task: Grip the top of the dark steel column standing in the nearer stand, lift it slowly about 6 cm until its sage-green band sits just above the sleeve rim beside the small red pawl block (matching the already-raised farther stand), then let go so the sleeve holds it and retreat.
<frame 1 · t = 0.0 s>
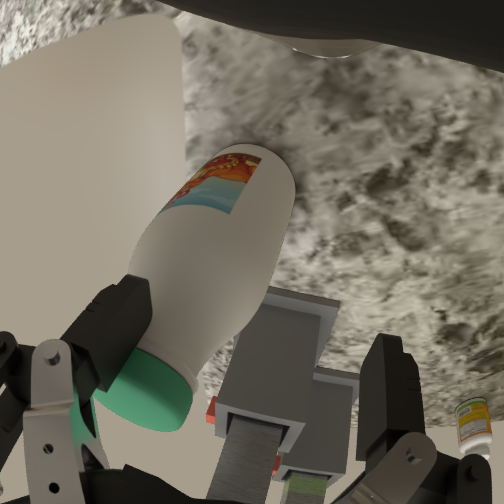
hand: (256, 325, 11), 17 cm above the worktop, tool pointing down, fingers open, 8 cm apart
supplement bottle: (470, 405, 37), on the worktop
stand 1: (282, 325, 35), on the worktop
milk bottle: (250, 184, 27), on the worktop, touching gripper
stand 2: (320, 389, 40), on the worktop
column 1: (258, 422, 25), point 12 cm above the worktop, slide at 0.0 cm
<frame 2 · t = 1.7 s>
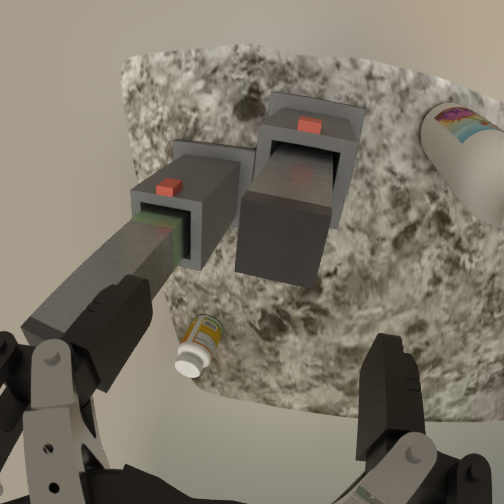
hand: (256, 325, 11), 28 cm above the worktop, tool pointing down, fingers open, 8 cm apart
column 2: (137, 261, 24), point 18 cm above the worktop, slide at 6.0 cm
supplement bottle: (208, 325, 53), on the worktop
stand 1: (311, 142, 34), on the worktop
milk bottle: (449, 134, 29), on the worktop
stand 2: (213, 182, 39), on the worktop
column 1: (302, 174, 24), point 12 cm above the worktop, slide at 0.0 cm
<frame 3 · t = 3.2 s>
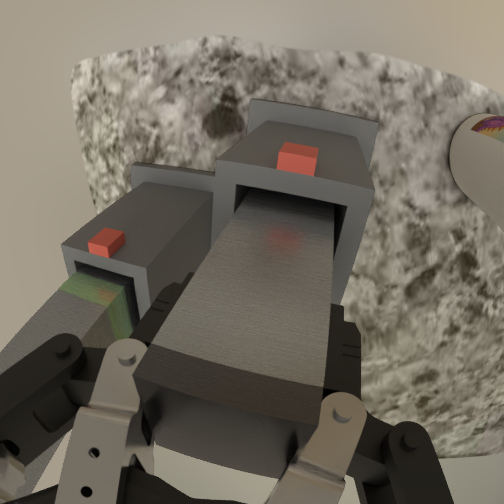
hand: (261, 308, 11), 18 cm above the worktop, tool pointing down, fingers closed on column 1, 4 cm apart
column 2: (66, 348, 16), point 18 cm above the worktop, slide at 6.0 cm
stand 1: (305, 166, 26), on the worktop
milk bottle: (484, 156, 21), on the worktop
stand 2: (181, 215, 31), on the worktop
column 1: (285, 233, 16), point 12 cm above the worktop, slide at 0.0 cm, touching gripper
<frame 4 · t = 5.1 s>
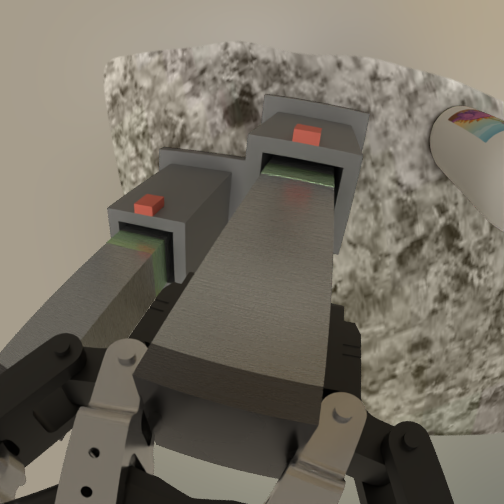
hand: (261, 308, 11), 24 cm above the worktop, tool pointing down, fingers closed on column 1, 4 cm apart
column 2: (113, 290, 21), point 18 cm above the worktop, slide at 6.0 cm
stand 1: (310, 150, 31), on the worktop
milk bottle: (460, 141, 26), on the worktop
stand 2: (202, 194, 36), on the worktop
column 1: (285, 233, 16), point 18 cm above the worktop, slide at 5.9 cm, touching gripper
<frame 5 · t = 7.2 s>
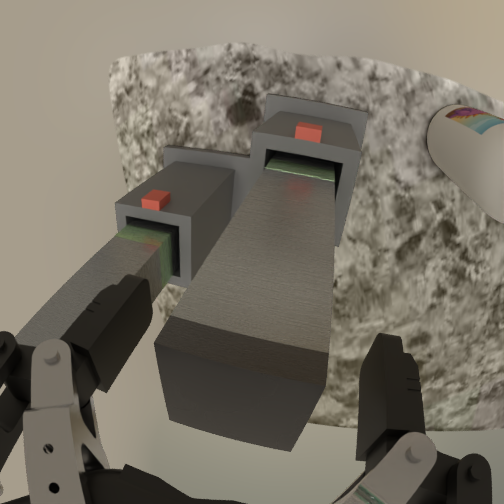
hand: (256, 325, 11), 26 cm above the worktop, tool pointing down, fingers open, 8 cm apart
column 2: (121, 282, 22), point 18 cm above the worktop, slide at 6.0 cm
stand 1: (310, 147, 32), on the worktop
milk bottle: (456, 139, 27), on the worktop
stand 2: (205, 190, 37), on the worktop
column 1: (289, 224, 17), point 18 cm above the worktop, slide at 6.0 cm
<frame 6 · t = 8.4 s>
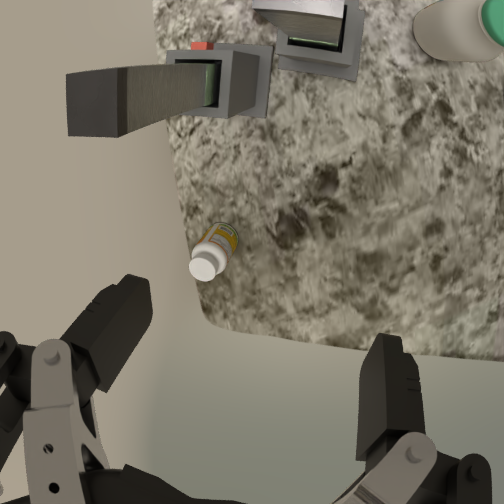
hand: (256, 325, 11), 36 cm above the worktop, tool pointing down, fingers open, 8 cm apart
column 2: (173, 86, 24), point 18 cm above the worktop, slide at 6.0 cm
supplement bottle: (223, 236, 53), on the worktop
stand 1: (321, 38, 34), on the worktop
milk bottle: (438, 33, 29), on the worktop
stand 2: (233, 78, 39), on the worktop
column 1: (314, 14, 19), point 18 cm above the worktop, slide at 6.0 cm
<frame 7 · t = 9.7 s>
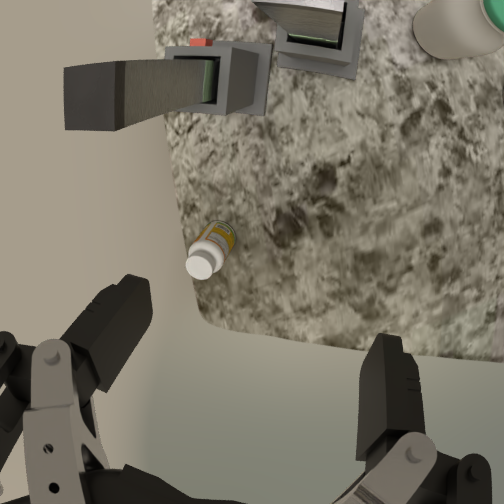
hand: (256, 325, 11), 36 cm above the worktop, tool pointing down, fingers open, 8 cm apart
column 2: (171, 81, 24), point 18 cm above the worktop, slide at 6.0 cm
supplement bottle: (220, 234, 53), on the worktop
stand 1: (321, 37, 34), on the worktop
milk bottle: (438, 33, 29), on the worktop
stand 2: (232, 76, 39), on the worktop
column 1: (314, 11, 19), point 18 cm above the worktop, slide at 6.0 cm
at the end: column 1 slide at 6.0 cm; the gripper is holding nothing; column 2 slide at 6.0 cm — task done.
